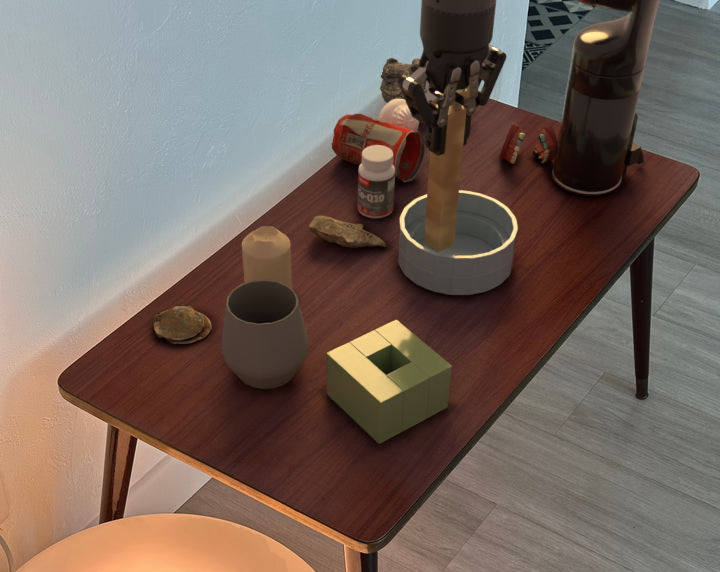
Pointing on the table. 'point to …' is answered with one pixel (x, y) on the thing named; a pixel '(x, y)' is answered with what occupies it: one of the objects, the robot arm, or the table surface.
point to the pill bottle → (376, 182)
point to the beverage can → (379, 143)
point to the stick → (445, 183)
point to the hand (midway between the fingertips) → (447, 147)
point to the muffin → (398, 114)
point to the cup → (264, 333)
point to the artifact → (343, 233)
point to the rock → (395, 78)
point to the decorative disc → (181, 325)
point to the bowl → (460, 246)
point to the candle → (267, 256)
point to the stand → (388, 380)
